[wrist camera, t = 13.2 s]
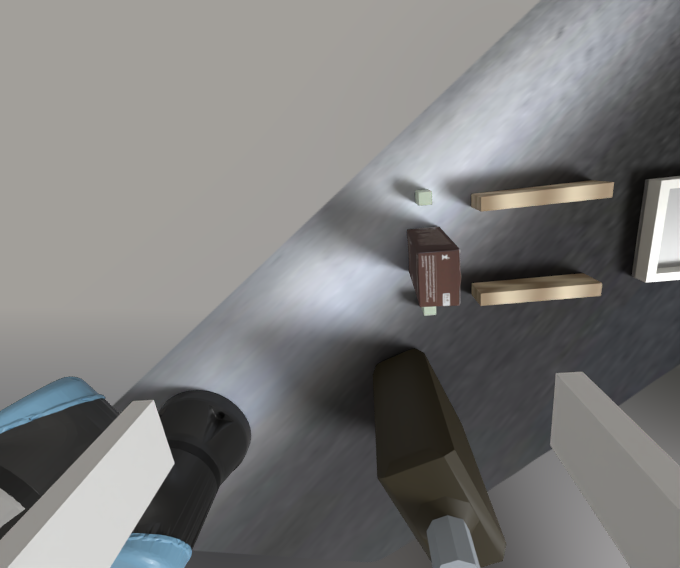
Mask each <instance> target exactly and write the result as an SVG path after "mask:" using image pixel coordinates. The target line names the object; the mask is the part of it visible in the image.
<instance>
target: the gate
mask: <svg viewBox="0 0 680 568" xmlns="http://www.w3.org/2000/svg"><path fill="white" fill-rule="evenodd" d="M415 200H416V204H417V205H419V206H423V205H432V191H430V190H428V189H425V190H416V191H415ZM421 308H422V311H423V313H424V316H426V315H436V306H435V307H421Z"/></svg>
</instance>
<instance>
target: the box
mask: <svg viewBox="0 0 680 568" xmlns="http://www.w3.org/2000/svg"><path fill="white" fill-rule="evenodd" d="M407 239H408V255H409V273H410V277H411V279H412V283H413V286H414V289H415V292H416V295H417V298H418V302H419V306H420V307H435V306H459V305H460V284H461V272H460V249H459V248H458V247H457V245H455V243H454V242H453V241H452V240H451V239H450V238H449V237H448V236H447V235H446V234H445V233H444V231H443V230H442V229H441V228H440V227H427V228H417V229H407Z"/></svg>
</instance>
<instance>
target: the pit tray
mask: <svg viewBox="0 0 680 568" xmlns="http://www.w3.org/2000/svg"><path fill="white" fill-rule="evenodd" d="M632 277H634V278H637V279H639V280H641V281H644V282H657V281H669V280H680V176H673V177H664V178H655V179H646V180H645V185H644V192H643V199H642V206H641V213H640V220H639V227H638V234H637V241H636V248H635V255H634V262H633V269H632Z"/></svg>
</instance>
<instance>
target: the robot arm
mask: <svg viewBox="0 0 680 568" xmlns="http://www.w3.org/2000/svg"><path fill="white" fill-rule="evenodd" d="M250 441H251V430H250V426H249V423H248V421H247V419H246V417H245V415H244V414H243V413H242V411H241V410H240V409H239V408H238V407H237V406H236V405H235V404H233V403H232V402H231V401H229V400H228V399H226V398H224V397H222V396H220V395H217V394H215V393H211V392H207V391H187V392H183V393H180V394H178V395H176V396H174V397H172V398H171V399H170V400H168V401H167V402H166V403H165V405H164V406H163V407H162V408H161V410H160V411H159V412H158V411H157V408H156V405H155V402H154V400H143V401H132V402H131V403H130V404H129V406H128V407H127V408H126V409H125V410H124V411H123V412H122V413H121V414H119V413H118V412H117V411H116V410H115V409H114V408H113V407H112V406H111V405H110V404H109V403H108V402H107V401H106V400H105V397H104V395H101V394H98V393H97V392H96V391H95V390H94V389H93V388H91V387H90V386H89V385H88V384H87V383H86V382H85V381H84V380H82V379H80V378H78V377H64V378H61V379H58V380H56V381H54V382H52V383H50V384H48V385H46V386H44V387H42V388H40V389H39V390H36V391H35V392H33V393H31V394H29V395H27V396H26V397H24V398H22V399H20V400H18V401H17V402H15V403H13V404H11V405H10V406H8V407H6V408H5V409H3V410H1V411H0V568H184V567H185V565H186V563H187V561H188V560H189V559H190V557H191V554H192V549H193V547H194V545H195V542H196V540H197V538H198V535H199V533H200V531H201V528H202V526H203V524H204V521H205V519H206V517H207V514H208V512H209V510H210V507H211V505H212V503H213V500H214V498H215V496H216V494H217V491H218V489H219V487H220V485H221V484H222V483H223V482H224V481H225V480H226V478H227V477H228V476H229V475H230V474H231V473H232V471H234V470H235V469H236V468H237V467H238V466H239V465H240V464H241V462H242V461H243V459H244V457H245V455H246V453H247V450H248V448H249V445H250ZM550 446H551V447H552V449H553V450H554V452H555V453H556V455H557V456H558V458H559V459H560V461H561V463H562V464H563V465H564V467H565V469H566V470H567V472H568V473H569V475H570V476H571V478H572V479H573V481H574V482H575V484H576V485H577V487H578V488H579V490H580V491H581V493H582V494H583V496H584V497H585V499H586V501H587V502H588V504H589V505H590V507H591V508H592V510H593V511H594V513H595V514H596V516H597V517H598V519H599V521H600V522H601V524H602V525H603V527H604V528H605V530H606V531H607V533H608V534H609V536H610V537H611V539H612V540H613V542H614V543H615V545H616V546H617V548H618V550H619V551H620V552H621V554H622V556H623V557H624V559H625V560H626V562H627V563H628V565H629V566H630V568H680V466H679V465H678V464H677V463H676V462H675V461H674V460H673V459H672V458H671V457H670V456H669V455H668V454H667V453H666V452H665V451H664V450H663V449H662V448H661V447H660V446H659V445H658V444H656V443H655V442H654V441H653V440H652V439H651V438H650V437H649V436H648V435H647V434H646V433H645V432H644V431H643V430H642V429H641V428H640V427H639V426H638V425H637V424H636V423H635V422H634V421H633V420H632V419H631V418H630V417H629V416H627V415H626V414H625V413H624V412H623V411H622V410H621V409H620V408H619V407H618V406H617V405H616V404H615V403H614V402H613V401H612V400H611V399H610V398H609V397H608V396H607V395H606V394H605V393H604V392H603V391H602V390H601V389H600V388H599V387H598V386H597V385H595V384H594V383H593V382H592V381H591V380H590V379H589V378H588V377H587V376H586V375H585V374H584V373H583V372H570V373H556V380H555V392H554V405H553V417H552V430H551V442H550Z"/></svg>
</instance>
